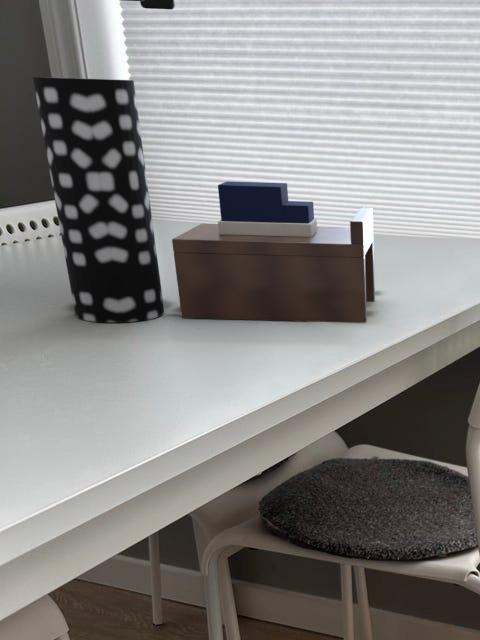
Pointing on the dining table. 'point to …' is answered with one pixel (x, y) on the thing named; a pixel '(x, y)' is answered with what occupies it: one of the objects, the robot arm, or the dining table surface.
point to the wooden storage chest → (277, 274)
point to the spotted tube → (101, 197)
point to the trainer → (263, 211)
